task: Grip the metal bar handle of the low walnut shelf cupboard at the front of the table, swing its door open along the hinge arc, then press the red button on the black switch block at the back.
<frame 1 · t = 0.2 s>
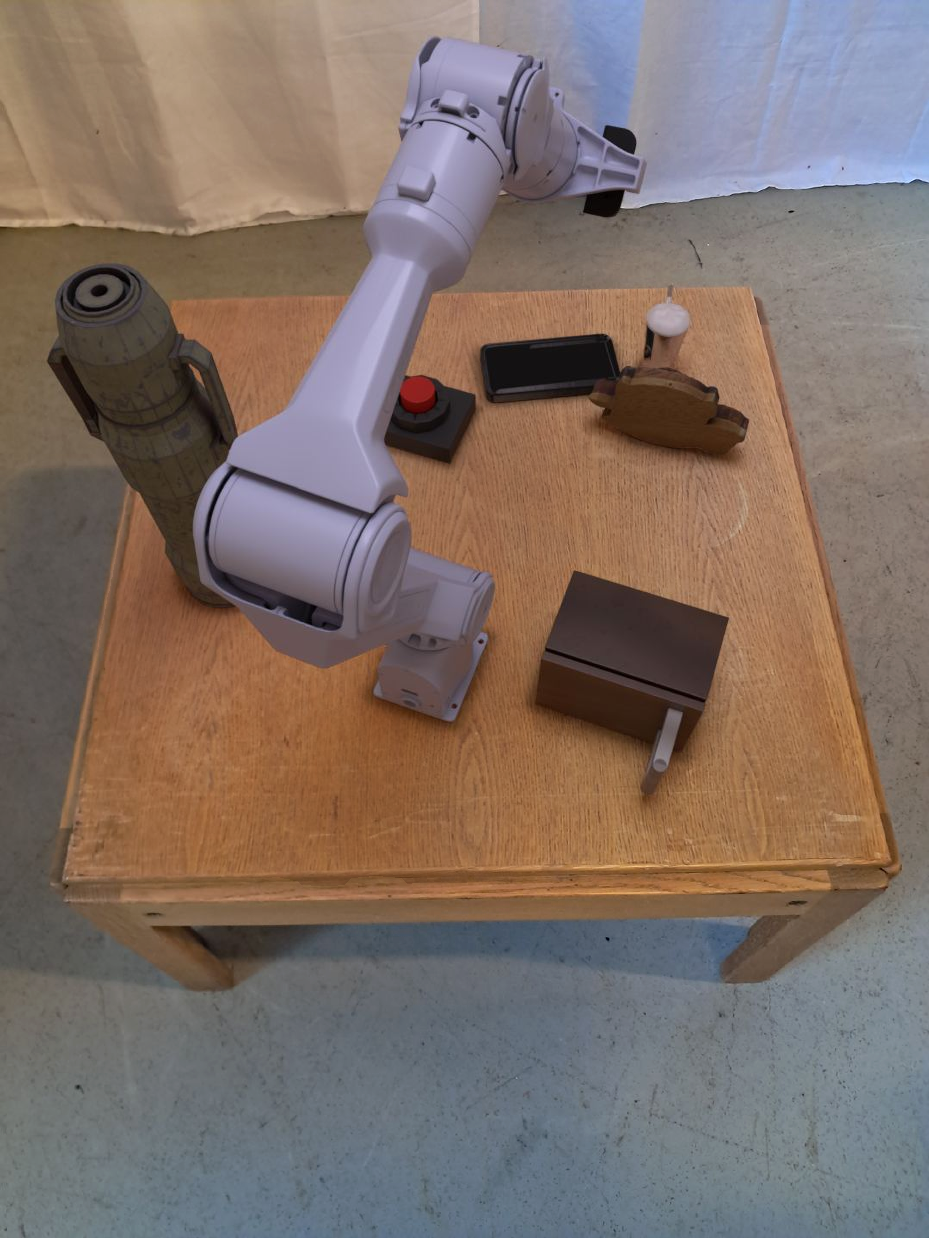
hand: (562, 174, 70), 32 cm above the table, tool tilted 50°, fingers open, 7 cm apart
milkshake: (654, 373, 102), on the table
thermos: (227, 571, 91), on the table
wooden carving: (660, 439, 98), on the table
cupboard: (621, 680, 84), on the table
switch block: (420, 424, 99), on the table
button: (417, 395, 95), point 5 cm above the table, slide at 0.1 cm
phone: (549, 371, 102), on the table
door: (605, 732, 76), point 5 cm above the table, hinge at 0.0°
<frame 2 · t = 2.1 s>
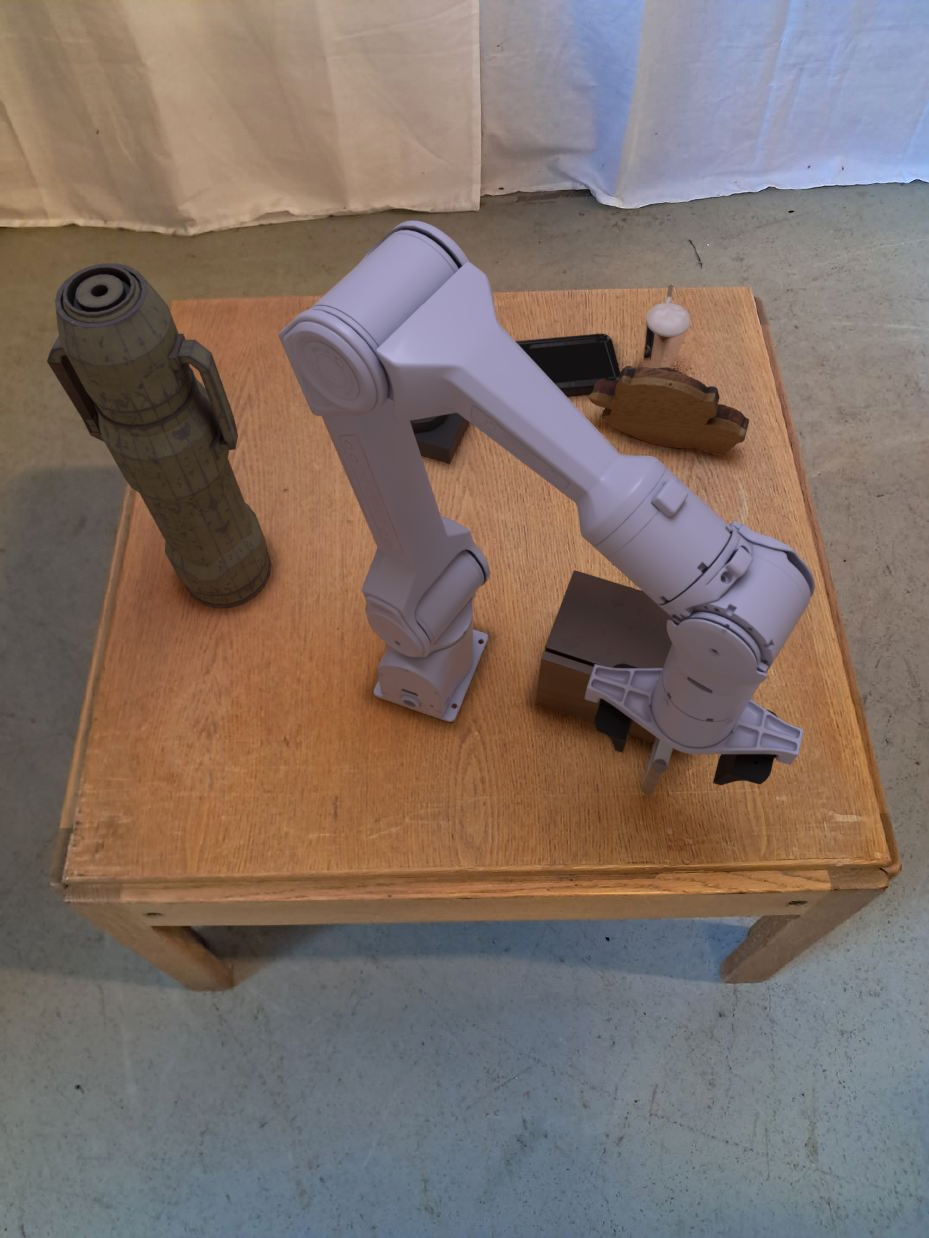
hand: (670, 756, 70), 10 cm above the table, tool pointing down, fingers open, 7 cm apart
nothing on the table moved.
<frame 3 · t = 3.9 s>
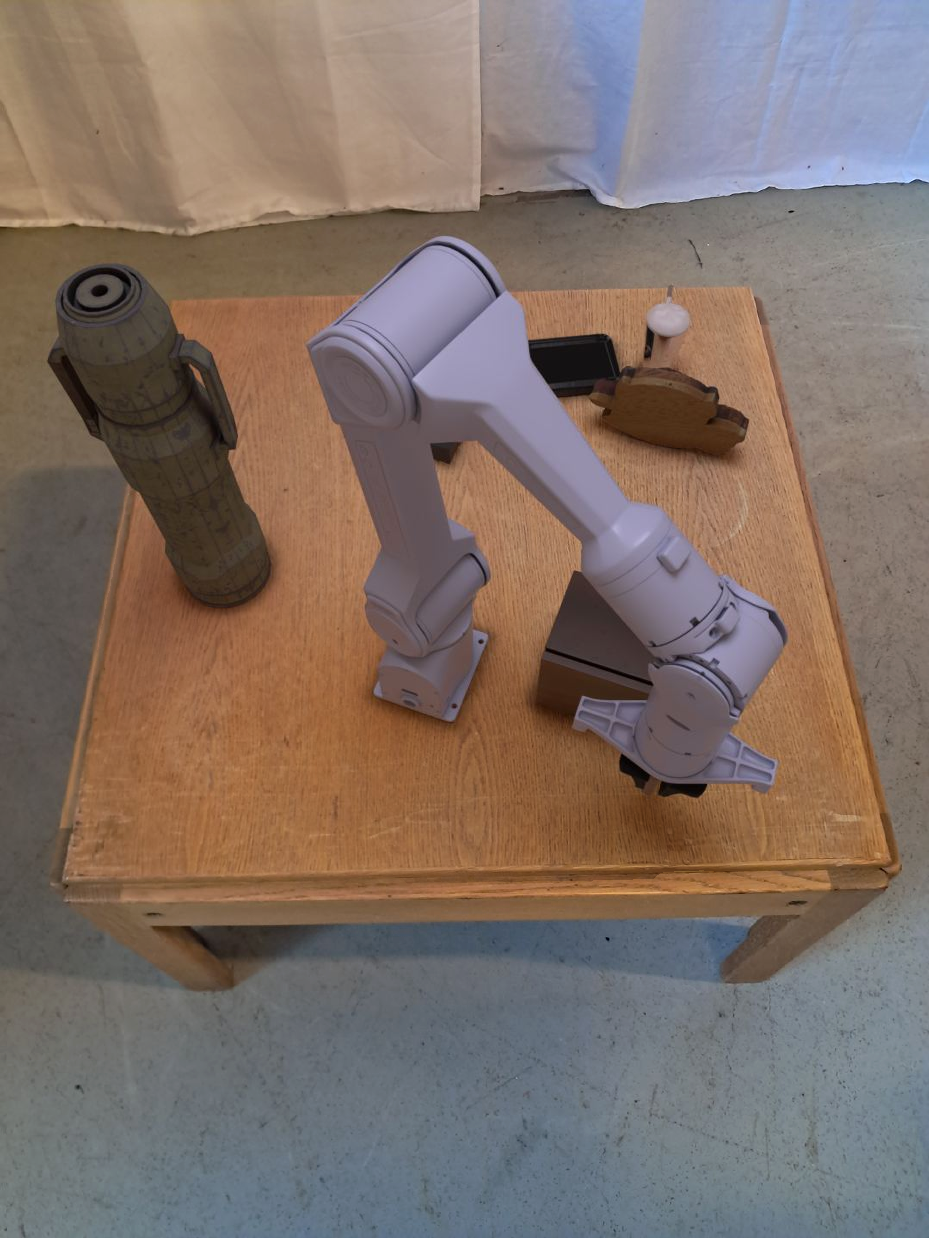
hand: (653, 780, 73), 6 cm above the table, tool pointing down, fingers closed on door
door: (605, 732, 76), point 5 cm above the table, hinge at 0.0°, touching gripper
everything else where it was.
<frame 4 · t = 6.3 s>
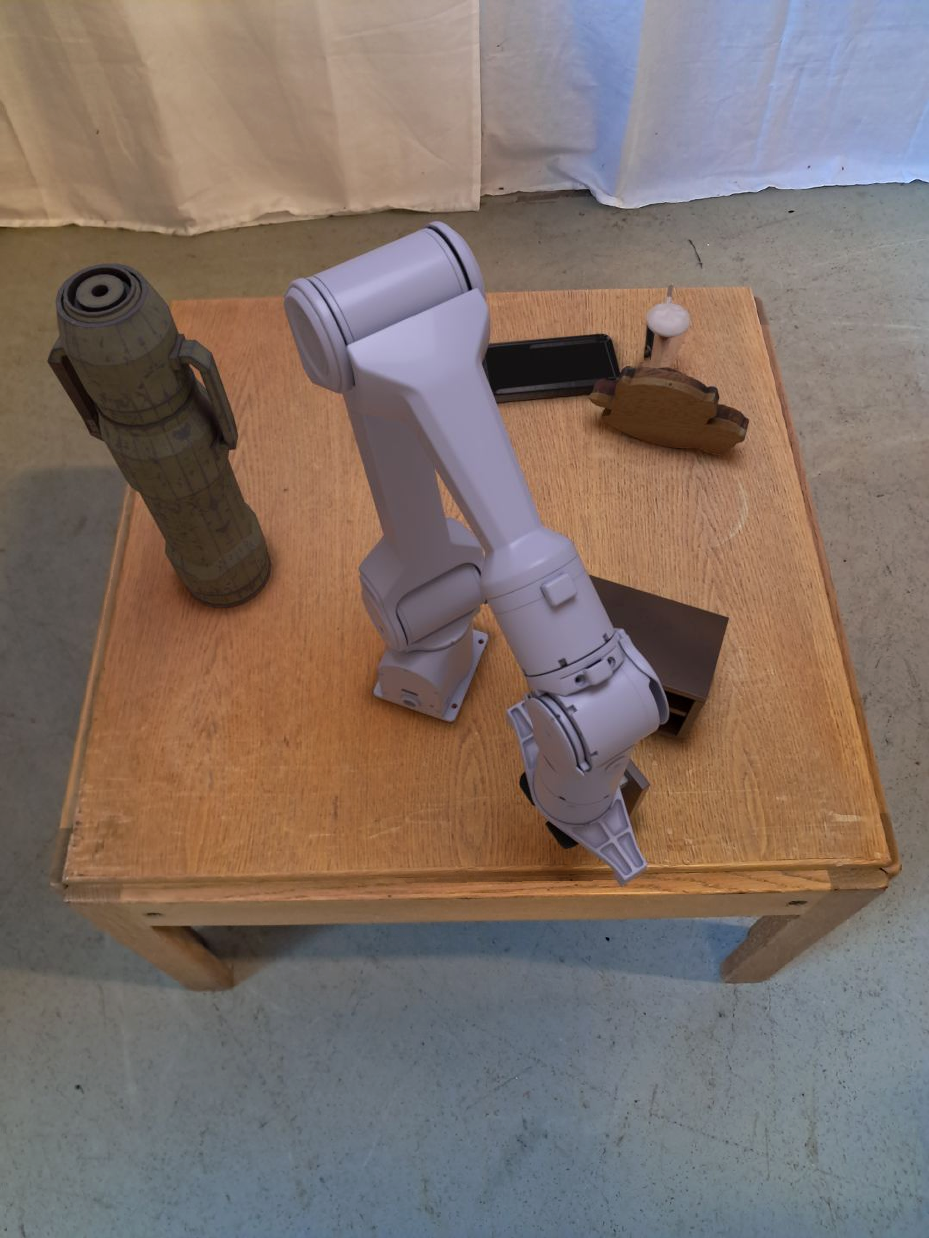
hand: (563, 821, 72), 6 cm above the table, tool pointing down, fingers closed on door
door: (559, 757, 75), point 5 cm above the table, hinge at 35.9°, touching gripper
everything else where it was.
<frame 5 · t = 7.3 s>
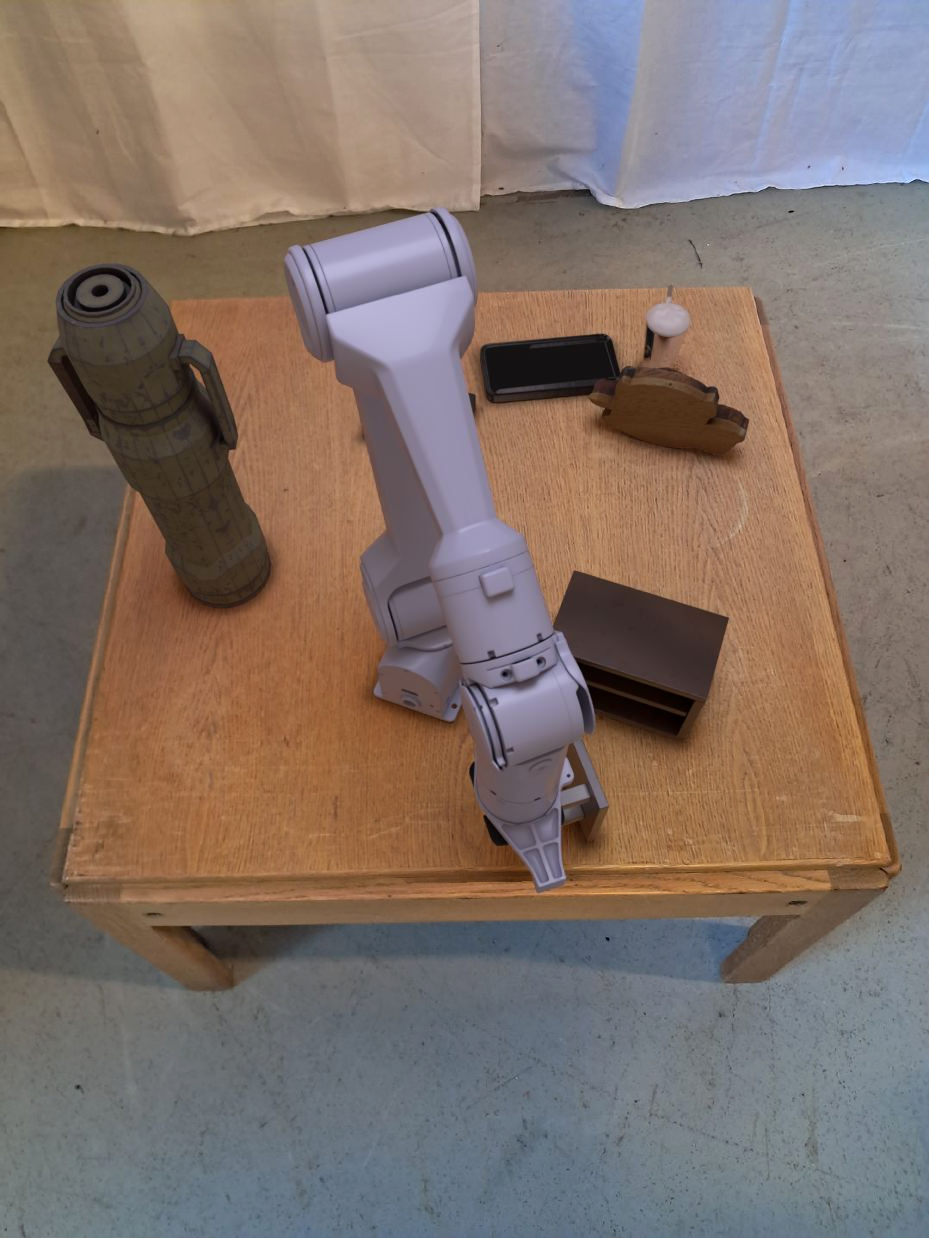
hand: (513, 820, 72), 6 cm above the table, tool pointing down, fingers closed, pressing on door
door: (535, 758, 75), point 5 cm above the table, hinge at 51.5°, touching gripper
everything else where it was.
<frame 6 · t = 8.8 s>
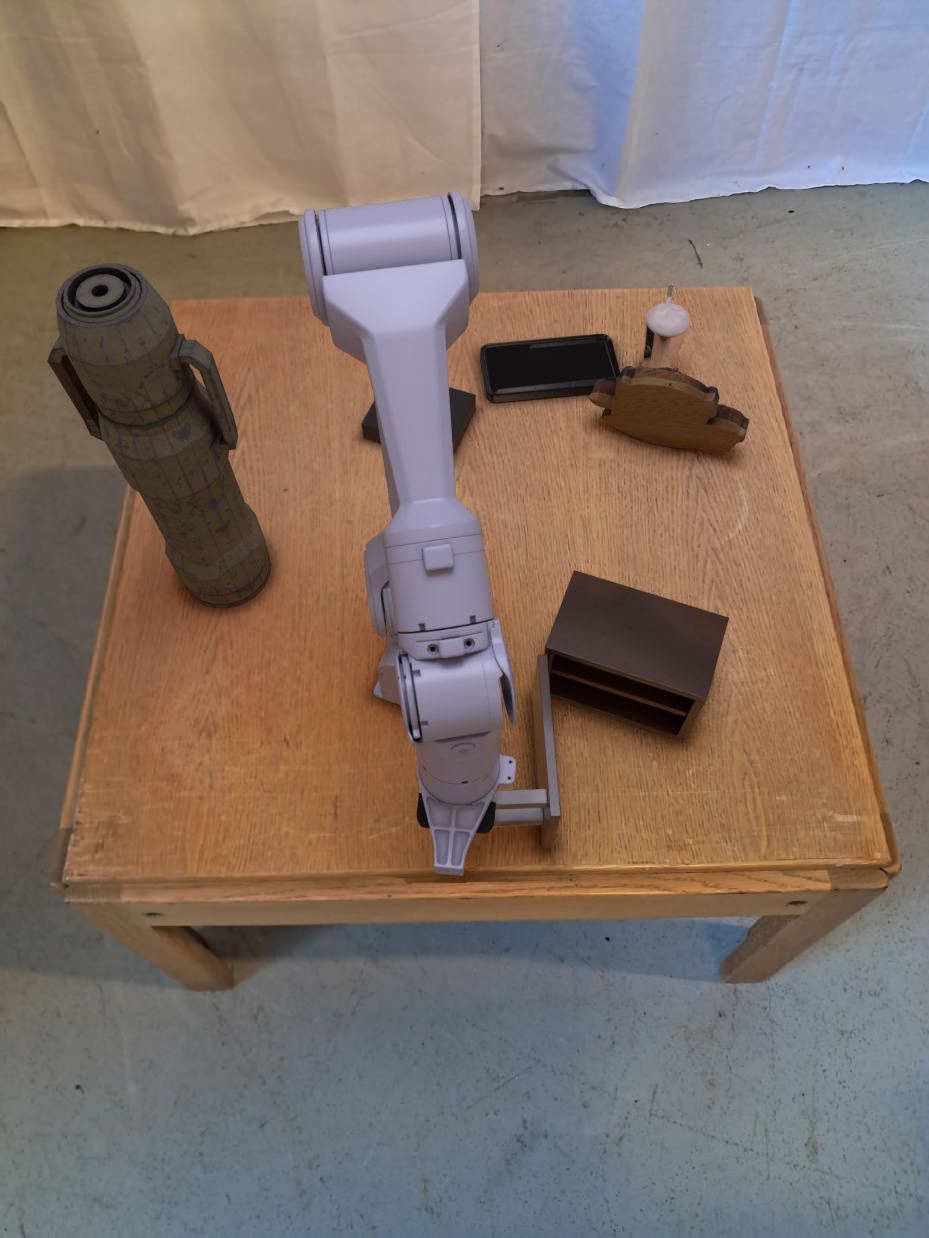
hand: (461, 804, 73), 6 cm above the table, tool pointing down, fingers open, 3 cm apart
door: (511, 753, 76), point 5 cm above the table, hinge at 67.4°
everything else where it was.
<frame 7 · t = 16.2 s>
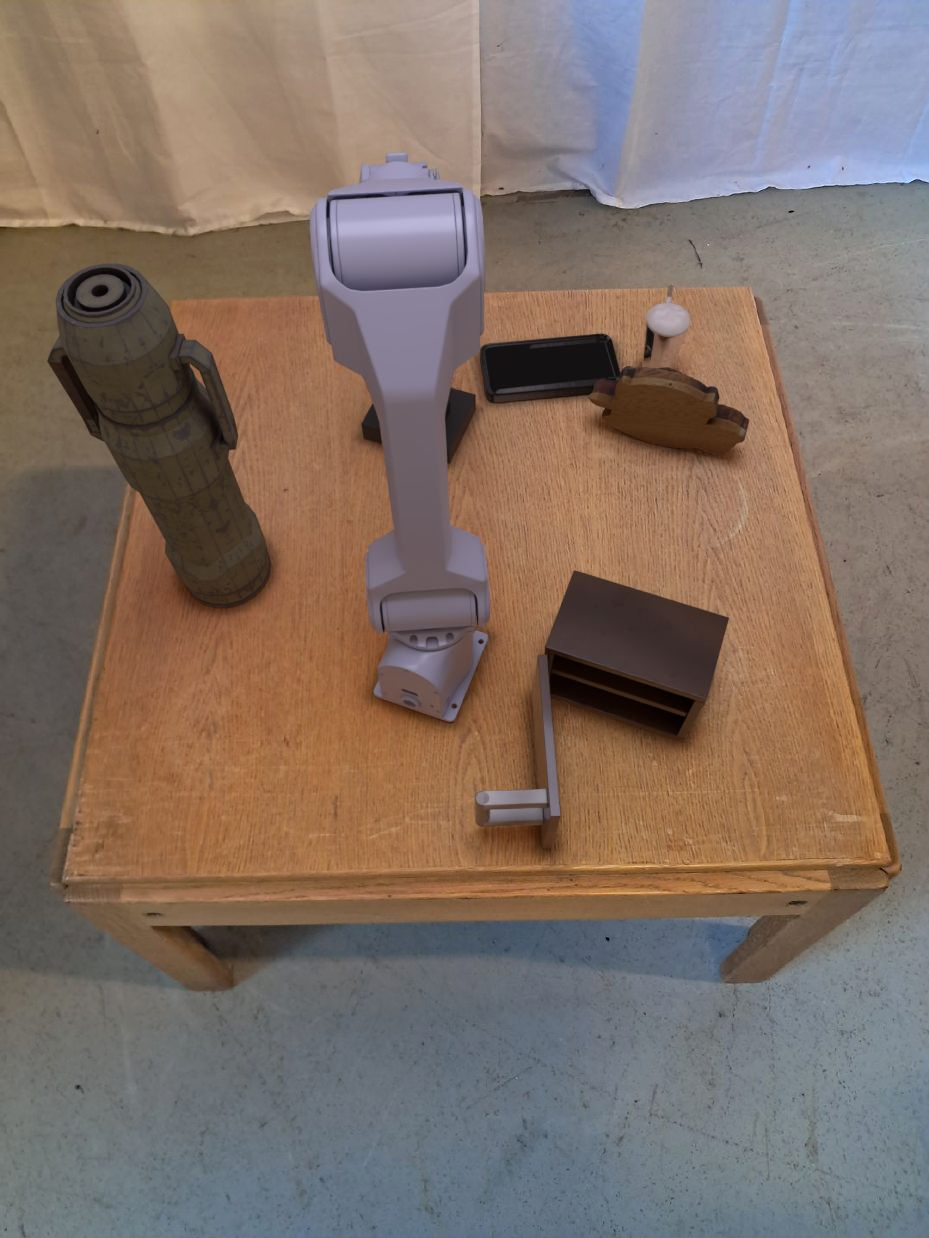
hand: (417, 393, 95), 5 cm above the table, tool pointing down, fingers closed, pressing on button
button: (418, 399, 96), point 4 cm above the table, slide at -0.5 cm, touching gripper
everything else where it was.
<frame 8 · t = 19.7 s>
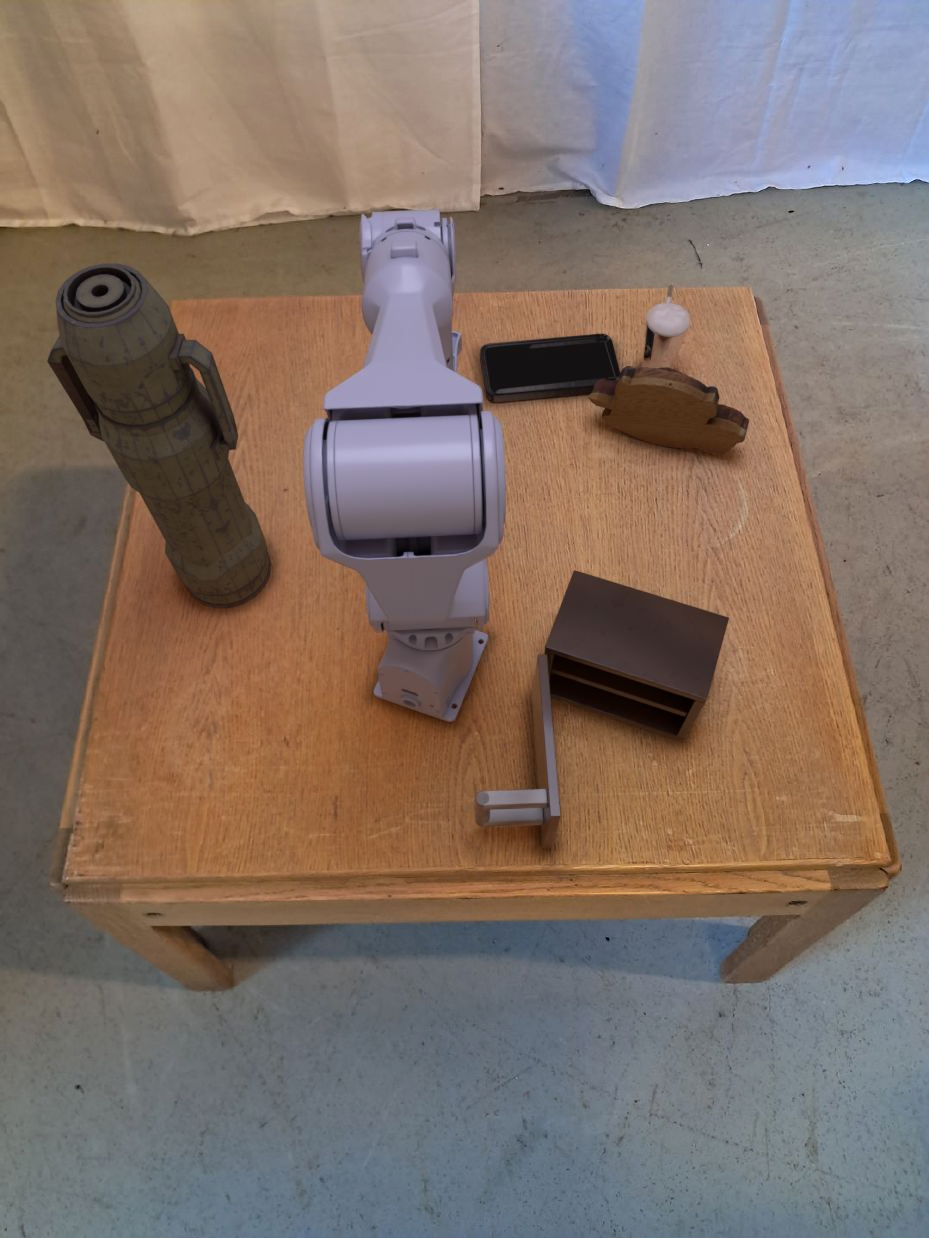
hand: (425, 459, 84), 10 cm above the table, tool pointing down, fingers closed
button: (417, 395, 95), point 5 cm above the table, slide at 0.1 cm
everything else where it was.
at the end: door at +67° (first picture: +0°); button pushed in 1.0 cm at the most during the clip, back to where it started at the end; button slide at 0.1 cm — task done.
